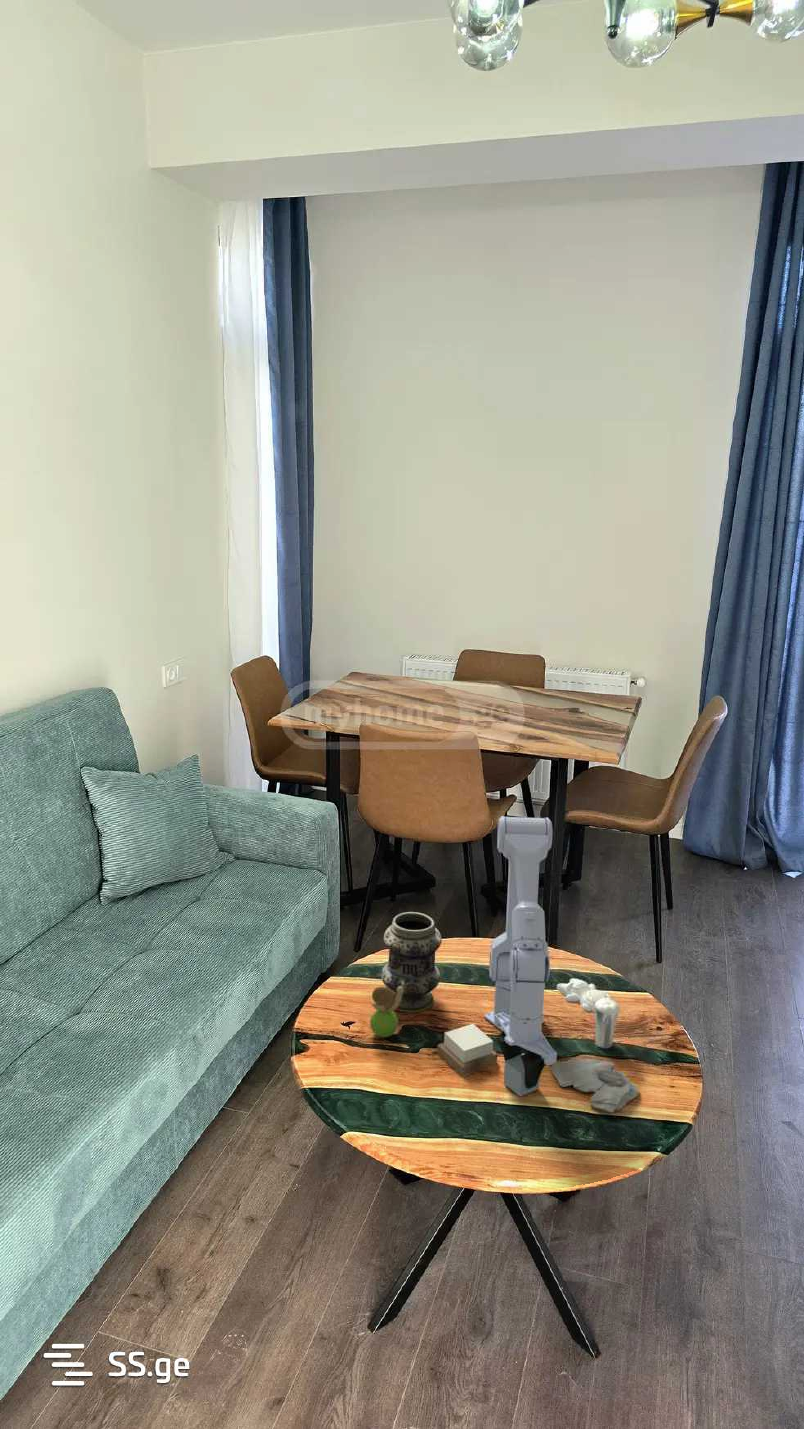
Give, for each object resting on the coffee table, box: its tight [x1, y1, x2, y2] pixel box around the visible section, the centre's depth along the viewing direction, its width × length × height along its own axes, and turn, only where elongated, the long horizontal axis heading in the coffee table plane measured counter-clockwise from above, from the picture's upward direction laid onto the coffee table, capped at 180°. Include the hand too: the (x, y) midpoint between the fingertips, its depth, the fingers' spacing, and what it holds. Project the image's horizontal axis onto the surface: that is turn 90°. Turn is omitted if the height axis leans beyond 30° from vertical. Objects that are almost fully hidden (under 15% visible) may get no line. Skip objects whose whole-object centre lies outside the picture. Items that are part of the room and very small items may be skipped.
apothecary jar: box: [380, 911, 443, 1014], centre depth 195 cm, size 12×12×18 cm
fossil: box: [550, 1057, 639, 1113], centre depth 172 cm, size 17×11×2 cm
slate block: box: [503, 1052, 541, 1097], centre depth 170 cm, size 4×4×4 cm
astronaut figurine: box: [556, 978, 612, 1013], centre depth 200 cm, size 9×12×3 cm
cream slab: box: [443, 1023, 494, 1063], centre depth 178 cm, size 6×6×2 cm
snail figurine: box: [369, 981, 404, 1038], centre depth 183 cm, size 5×6×12 cm
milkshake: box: [592, 998, 620, 1049], centre depth 183 cm, size 5×5×10 cm
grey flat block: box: [436, 1042, 498, 1077], centre depth 178 cm, size 8×8×2 cm
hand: (521, 1078), depth 170 cm, fingers closed on slate block, 4 cm apart
